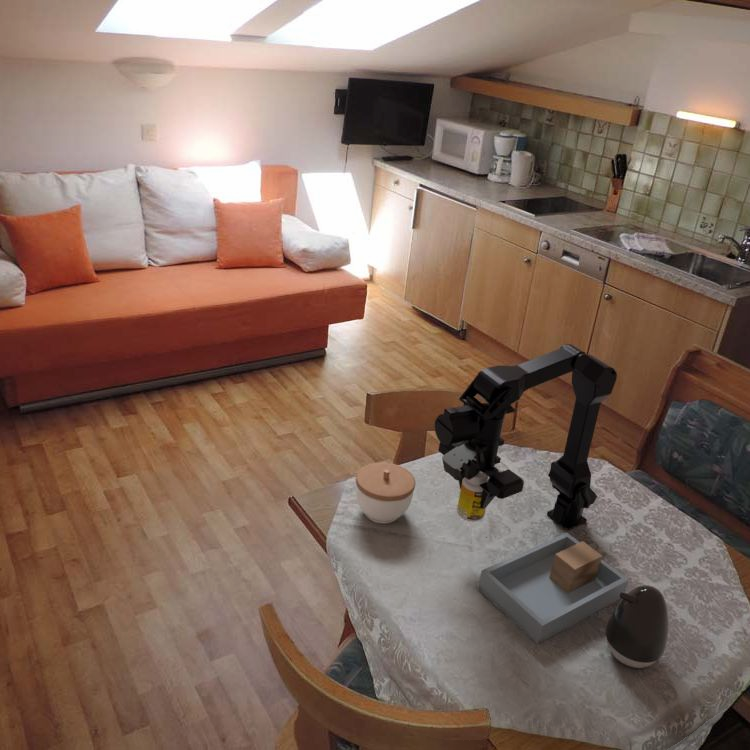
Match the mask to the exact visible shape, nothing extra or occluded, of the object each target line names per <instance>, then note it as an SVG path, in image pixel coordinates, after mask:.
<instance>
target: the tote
mask: <svg viewBox="0 0 750 750" xmlns="http://www.w3.org/2000/svg"><path fill="white" fill-rule="evenodd" d="M580 542H581V541H579V540H578V539H576V538H575V537H574V536H572V535H571V534H570V533H568V532H565V533H562V534H560V535H558V536H555V537H553V538H552V539H549V540H547V541H544V542H541V543H540V544H538V545H536V546H533V547H531V548H528V549H527V550H523V551H522V552H520V553H518V554H516V555H513V556H511V557H509V558H507V559H504V560H502V561H500V562H497V563H496V564H493V565H491V566H488V567H486V568H483V569H482V570H480V571H481V572H480V576H479V582H478V585H477V590H479V591H480V592H481V593H482V594H483V595H484V596H485V597H486V596H487V597H486V598H487V599H488V598H489V599H490V600H489V599H488V600H489V601H490V602H492V604H494V605H495V607H497V608H498V610H500V609H501V610H500V611H501V612H502V611H503V612H504V613H505V614H506V615H505V614H504V613H503V612H502V613H503V614H504V615H505V616H507V618H509V619H510V620H511V621H512V622H513V623H514V624H515V625H516V626H517V627H518V628H519V629H520V630H522V631H523V632H524V633H525V634H526V635H527V637H528V638H530V639H531V640H532V641H533V642H534V643H535V644H536V645H539V644H541V643H543V642H544V641H546V640H548V639H550V638H552V637H553V636H554V637H555V635H557V634H559V633H561V632H563V631H564V630H566V629H568V628H570V627H572V626H573V625H575V624H577V623H579V622H580V621H582V620H585V619H586V618H588V617H590V616H592V615H593V614H596V613H597V612H599V611H601V610H603V609H604V608H607V607H608V606H610V605H612V604H614V603H615V602H617V601H619V600H622V598H620V596H619V595H620V593H621V592H624V593H626V590H627V586H628V583H629V581H630V579H629V578H627V577H626V575H624V574H622V573H621V572H620V571H618V570H617V569H615V568H614V567H613V566H611V565H610V564H609V563H607V562H606V561H605V560H604V559H603V558H602V559H601V562H600V566H599V569H598V572H597V576H596V579H595V580H593V581H591V582H589V583H587V584H586V585H584V586H582V587H580V588H578V589H576V590H574V591H572V592H570V593H567V592H566V591H565V590H563V589H562V588H561V587H560V586H559V585H557V584H556V583H555V582H554V581H553V580H551V579H550V578H549V576H550V573H551V569H552V565H553V561H554V557H555V554H556V553H559V552H561V551H563V550H565V549H567V548H569V547H571V546H574V545H576V544H578V543H580Z"/></svg>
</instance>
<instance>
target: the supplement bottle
mask: <svg viewBox="0 0 750 750" xmlns="http://www.w3.org/2000/svg"><path fill="white" fill-rule="evenodd" d="M488 478H489V476H487V475H486V474H485V473H484V474H482V473H481V472H479V473H478V474H477V475H476V476H475V477H473V478H472V479H470V480H468V479H467V478H464V479H463V480H462V485H461V490H459V497H458V502H457V506H456V507H457V508H456V513H457V515H458V517H460V518H461V519H463V520H464V521H467V522H472V523H473V522H478V521H481V520H482V519H483V518H484V517H485V513H486V508H487V507H486V508H484V509H481V498H482V492H483V489H482V488H481V487H480V486H479V485H480V484H483V483H486V482H487V480H488Z"/></svg>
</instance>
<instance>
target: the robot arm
mask: <svg viewBox="0 0 750 750" xmlns="http://www.w3.org/2000/svg"><path fill="white" fill-rule="evenodd" d="M570 373H571V385H572V389H573V392H574V396H575V401H574V405H573V406H574V407H573V409H572V414H571V419H570V424H569V428H568V432H567V438H566V442H565V447H564V450H563V451H564V452H563V455H562V456H561V457H560V458H558V459H557V460H555V461H552V462H551V463H550V470H549V472H548V474H547V477H549V482H550V483H551V487H552V488H553V489H555V490H556V491H557V492H558V495H557V496H556V500H555V503H554V506H553V509H551V510H549V511H547V513H546V515H547V516H548V517H550V518H551V519H552V520H553V521H555V522H556V523H558V525H560V526H562V527H563V528H564V529H566V530H568V531H569V530H571V529H574V528H575V527H578V526H581V525H583V524H584V523H587V520H588V519H587V517H584V516H583V512H584V509H586V510H587V509H589V508H590V506H592V505H594V503H595V502H596V501H597V498H598V494H596V493H595V491H593V489H592V488H591V484H592V483H591V482H592V480H591V479H592V472H591V470H590V469H591V468H590V466H589V463H588V459H589V454H590V449H591V446H592V441H593V437H594V433H595V429H596V425H597V421H598V416H599V413H600V409H601V408H600V407H601V404H602V402H604V400H606V399H607V398H608V397H609V396H611V394H612V392H613V391H614V387H615V384H616V382H617V378H618V372H617V371H616V369H614V367H612V366H610V365H609V364H607V363H606V362H604V361H602V360H600V359H599V358H597V357H596V356H594V355H592V354H587V352H585V351H584V350H582V349H580V347H577V346H575V345H574V344H571V343H564V344H563V345H562V346H561V347H559V348H557V349H555V350H553V351H550V352H548V353H547V352H546V354H543V355H540V356H536V357H535V358H533V359H529V360H527V361H524V362H522V363H519V364H517V365H494V366H489V367H485V368H483V369H482V370H480V371H479V372H478V373H477V374H476V376H475V377H474V378H473V380H472V381H471V383H470V384H469V385H468V386H467V387H466V389H465V390H464V392H463V393H462V395H461V396H459V398H458V400H459V402H461V403H462V404H463V405H460V406H456V407H446V408H444V409H443V413H441V414H438V416H436V419H434V431H435V435H436V438H437V440H438V441H439V445H438V450H437V452H439V453H441V454H442V457H441V460H442V464H443V471H444V472H445V473H448V475H450V476H451V477H452V478H453V480H456V481H458V484H459V489H460V490H461V485H462V480H463V479H464V478H467V479H468V480H470V479H472V478H473V477H475V476H476V475H477V474H478V473H479V472H481V473H482V474H484V473H485V474H486V475H487V476H488V480H487V482H486V483H483V484H480V485H479V486H480V487H481V488H482V489H483V492H482V498H481V509H484V508H487V507H488V505H489V504H490V503H491V502H492V501H493V500H494V498H495V497H496V498H497V499H502V500H503V499H506V498H509V497H511V496H514V495H517V494H519V493H522V492H523V489H524V486H525V485H524V484H525V483H524V482H525V481H524V479H523V478H522V477H520V476H519V475H517V474H516V473H515V472H513V471H512V470H511V469H506V470H500V469H498V468H497V467H496V465H497V464H500V463H501V459H502V458H501V457H500V456H499V455H498V453H499V447H501V446H504V445H505V439H504V438H502V431H503V427H504V422H505V417H506V415H507V414H512V413H515V411H516V408H514V407H513V405H512V404H515V402H517V401H519V400H520V399H521V397H522V396H523V394H524V393H525V392H526V391H528V390H530V389H532V388H535V387H537V386H539V385H542V384H545V383H546V382H550V381H551V380H552V381H553V380H555V379H557V378H560V377H562V376H564V375H567V374H570ZM476 396H479V397H480V398H481V399H482V400H483V401H484V402H481V401H480V400H478V399H477V398H476ZM460 490H459V491H460Z"/></svg>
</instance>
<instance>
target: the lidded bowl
mask: <svg viewBox="0 0 750 750" xmlns="http://www.w3.org/2000/svg"><path fill="white" fill-rule="evenodd" d="M355 476H356V477H355V497H356V502H357V504H358V507H359V509H360V510H361V512H362V513H363V514H364V515H365V516H366V517H367V519H369V521H372V522H374V523H377V524H390V523H392V522H395V521H396V520H397V519H400V518H401V517H402V516H403V515H404V514H405V513H406V512H407V511H408V510H409V507H410V505H411V503H412V500H413V496H414V491H415V489H416V479H415V477H414V475H413V474H412V472H410V470H408V469H407V468H405V467H403V466H401V465H399V464H397V463H392V462H385V461H381V462H372V463H369V464H366V465H364V466H363V467H360V468H359V470H357V473H356V475H355Z"/></svg>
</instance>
